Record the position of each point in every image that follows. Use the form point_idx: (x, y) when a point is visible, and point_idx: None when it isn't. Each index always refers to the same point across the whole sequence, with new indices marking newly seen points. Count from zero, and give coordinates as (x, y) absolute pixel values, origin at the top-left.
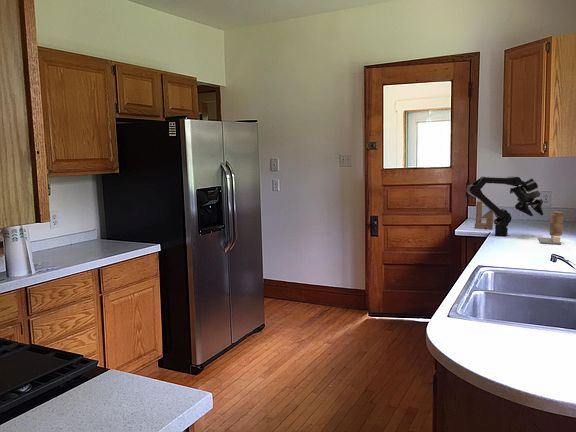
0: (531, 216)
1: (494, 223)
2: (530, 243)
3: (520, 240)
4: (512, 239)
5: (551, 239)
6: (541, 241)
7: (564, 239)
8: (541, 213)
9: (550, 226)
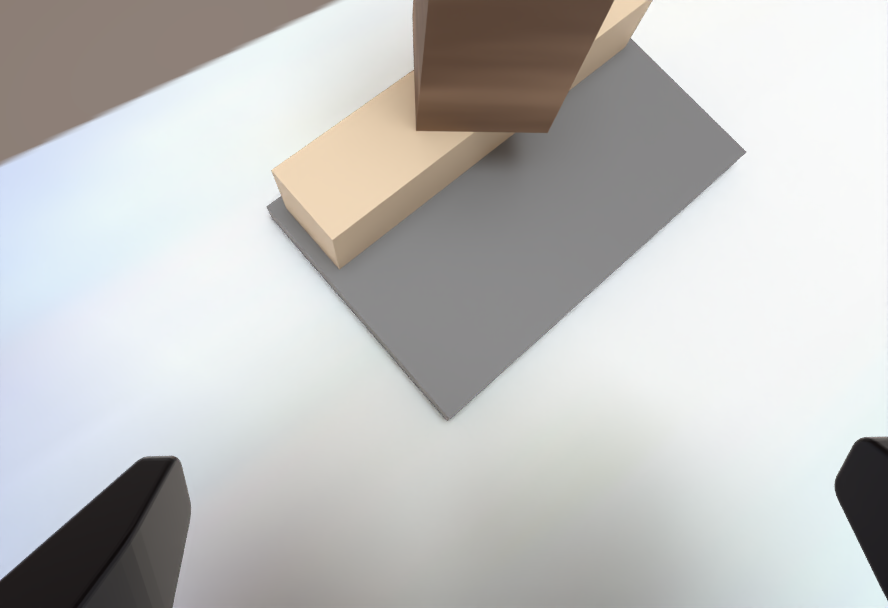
0: (856, 491)
1: None
2: (833, 238)
3: (792, 464)
4: (844, 591)
5: (439, 195)
6: (708, 166)
7: (107, 208)
8: (159, 550)
9: (596, 27)
